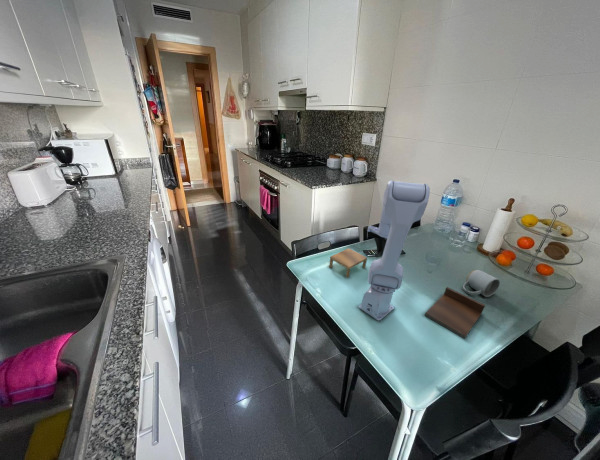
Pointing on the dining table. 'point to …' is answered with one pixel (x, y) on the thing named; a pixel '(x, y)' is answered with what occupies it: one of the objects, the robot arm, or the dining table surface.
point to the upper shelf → (348, 259)
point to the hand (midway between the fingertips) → (381, 253)
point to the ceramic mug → (481, 283)
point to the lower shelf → (456, 312)
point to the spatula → (378, 254)
